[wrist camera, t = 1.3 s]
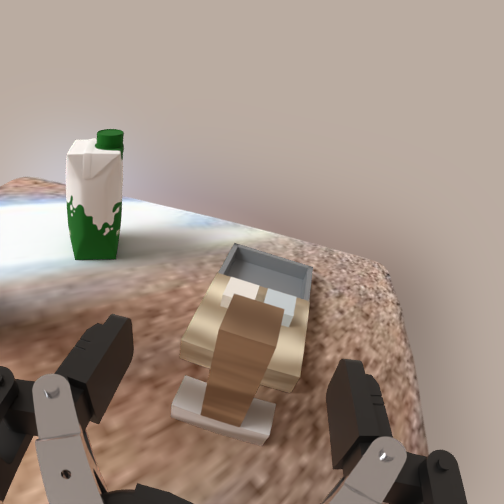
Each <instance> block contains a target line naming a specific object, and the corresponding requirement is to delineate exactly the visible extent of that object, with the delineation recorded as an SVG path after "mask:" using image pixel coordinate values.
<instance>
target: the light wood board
mask: <svg viewBox="0 0 504 504" xmlns="http://www.w3.org/2000/svg"><path fill="white" fill-rule="evenodd" d="M230 278H231V277H229V276H226V275H223V274H220V273H217V274H216V276H215V278H214V280H213V281H212V283H211V285H210V287H209V289H208V291H207V292H206V294H205V296H204V298H203V300H202V302H201V303H200V305H199V307H198V309H197V311H196V313H195V315H194V316H193V318H192V320H191V322H190V324H189V326H188V328H187V330H186V331H185V333H184V335H183V337H182V339H181V345H180V356H179V358H181V359H184V360H186V361H189V362H192V363H195V364H197V365H200V366H203V367H206V368H209V369H210V367H211V363H212V358H213V353H214V349H215V344H216V340H217V335H218V331H219V328H220V325H221V323H222V321H223V318H224V316H225V314H226V311H227V309H228V308H225V307H222V306H220V305H221V300H222V295H223V293H224V291H225V289H226V286H227V284H228V282H229V280H230ZM267 290H268V288H264V287H261V286H259V289H258V293H257V296H256V299H255V300H257V301H260V302H263V303H264V299H265V296H266V293H267ZM309 304H310V301H307V300H304V299H300V298H296V304H295V309H294V315H293V318H292V321H291V323H290V325H289V327H286V326H283V325H281V328H280V333H279V338H278V342H277V347H276V349H275V351H274V354H273V356H272V358H271V361H270V363H269V365H268V367H267V370H266V372H265V374H264V376H263V379H262V381H261V383H260V385H263V386H266V387H270V388H273V389H277V390H281V391H284V392H288V393H291V392H292V390H293V388H294V387H295V385H296V383H297V382H298V380H299V378H300V374H301V367H302V360H303V353H304V345H305V338H306V330H307V321H308V313H309Z"/></svg>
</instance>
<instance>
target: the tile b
mask: <svg viewBox="0 0 504 504" xmlns="http://www.w3.org/2000/svg"><path fill="white" fill-rule="evenodd" d="M296 298H297V297H295V296H292V295H288V294H285V293H282V292H279V291H275V290H272V289H269V288H268V290H267V293H266V296H265V299H264V303H266V304H269V305H273V306H276V307H279V308H283V309H285V310H284V314H283V319H282V324H281V325H283V326H286V327H289V325H290V323H291V321H292V318H293V315H294V309H295V304H296Z"/></svg>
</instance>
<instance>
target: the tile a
mask: <svg viewBox="0 0 504 504" xmlns="http://www.w3.org/2000/svg"><path fill="white" fill-rule="evenodd" d="M258 289H259V285H256V284H253V283H250V282H246V281H243V280H240V279H237V278H234V277H231V278H230V280H229V282H228V284H227V286H226V289H225V291H224V293H223V295H222V300H221V305H220V306H222V307H225V308H228V307H229V304H230V302H231V300H232V297H233V295H234V294H238V295H241V296H244V297H247V298H250V299H253V300H255V299H256V296H257V293H258Z"/></svg>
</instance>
